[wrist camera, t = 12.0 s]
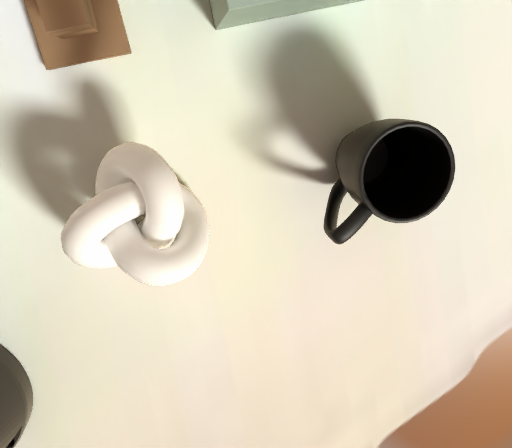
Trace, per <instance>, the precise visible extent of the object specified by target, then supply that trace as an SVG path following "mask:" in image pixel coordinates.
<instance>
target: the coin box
mask: <svg viewBox="0 0 512 448" xmlns="http://www.w3.org/2000/svg"><path fill="white" fill-rule="evenodd" d="M209 1H210V6H211V10H212V15H213V20H214V24H215V29H216V30H218V29H223V28H228V27H233V26H238V25H243V24H248V23H253V22H258V21H263V20H268V19H273V18H278V17H283V16H288V15H293V14H298V13H303V12H308V11H313V10H318V9H323V8H328V7H333V6H338V5H343V4H348V3H353V2H358V1H363V0H209Z"/></svg>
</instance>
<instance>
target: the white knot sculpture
mask: <svg viewBox="0 0 512 448" xmlns="http://www.w3.org/2000/svg"><path fill="white" fill-rule="evenodd" d="M131 180H133V181H131ZM95 195H96V196H94V197H93V198H91V199H90V200H88V201H87V202H85V203H84V204H82V205H81V206H80V207H79V208H77V209H76V210H75V211H74V212H73V214H72V215H71V216H70V218H69V219H68V221H67V222H66V224H65V225H64V228H63V230H62V233H61V242H62V248H63V251H64V253H65V254H66V255H67V256H68V257H69V258H70V259H71V260H72V261H73V262H74V263H76V264H79V265H81V266H85V267H90V268H110V267H115V266H119V267H120V268H121V269H122V270H123V271H124V272H125V273H127V274H128V275H130V276H131V277H132V278H134V279H135V280H137V281H139V282H141V283H144V284H147V285H154V286H165V285H170V284H173V283H176V282H179V281H181V280H182V279H184V278H186V277H188V276H189V275H191V274H192V273H193V272H194V271H195V270H196V269H197V268H198V266H199V265H200V264H201V262H202V261H203V258H204V256H205V253H206V251H207V248H208V243H209V237H210V225H209V221H208V216H207V214H206V211H205V209H204V207H203V205H202V204H201V202H200V200H199V199H198V198H197V197H196V195H195V194H194V193H193V192H192V191H191V190H189V189H188V188H187V187H186V186H184V185H183V184H181V183H179V182H178V179H177V177H176V175H175V173H174V172H173V170H172V168H171V167H170V166H169V164H168V163H167V162H166V161H165V160H164V159H163V157H162V156H160V155H159V154H158V153H157V152H156V151H155V150H153V149H152V148H150V147H149V146H146V145H143V144H138V143H133V142H126V143H123V144H121V145H118V146H116V147H113V148H112V149H110V150H109V151H108V152H107V153H106V155H105V157H104V158H103V160H102V161H101V163H100V165H99V168H98V171H97V175H96V182H95ZM145 213H146V217H145V219H144V220H143V221H141V222H140V223H139V224H138V225H137V223H136V220H135V218H136V217H138V216H140V215H143V214H145ZM175 235H176V238H175V240H174V242H173V243H172V244H171V246H170V247H168V248H166V249H160V248H162V247H164V246H165V245H167V244H168V243H169V242H170V241H171V240H172V239H173V238H174V237H175Z"/></svg>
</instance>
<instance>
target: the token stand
mask: <svg viewBox="0 0 512 448" xmlns="http://www.w3.org/2000/svg"><path fill="white" fill-rule="evenodd" d="M24 1H25V5H26V8H27V11H28V14H29V17H30V20H31V23H32V26H33V29H34V32H35V36H36V39H37V42H38V45H39V48H40V51H41V54H42V57H43V60H44V64H45V67H46V70H51V69H56V68H61V67H66V66H71V65H76V64H81V63H86V62H91V61H96V60H101V59H106V58H111V57H116V56H121V55H126V54H131V49H130V46H129V42H128V38H127V34H126V31H125V27H124V23H123V19H122V16H121V12H120V8H119V4H118V1H117V0H24Z"/></svg>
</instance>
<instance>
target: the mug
mask: <svg viewBox="0 0 512 448" xmlns="http://www.w3.org/2000/svg"><path fill="white" fill-rule="evenodd" d="M336 167H337V169H338V173H339V176H340V178H339V179H338V180H337V182H336V183H335V184H334V186H333V187H332V190H331V192H330V195H329V199H328V203H327V208H326V213H325V218H324V230H325V233H326V234H327V235H328V237H329V238H330V239H331V240H332V241H333V242H335V243H336V244H342V243H344V242H346V241H347V240H349V239H350V238H351V237H352V236H353V235H354V234H355V233H356V232H357V231H358V230H359V229H360V228H361V227H362V226H363V224H364V223H365V222H366V221H367V220H368V218H369V217H370V216H371V215H372V214H374V215H375V216H377V217H379V218H381V219H383V220H385V221H389V222H393V223H408V222H412V221H416V220H419V219H421V218H423V217H425V216H427V215H429V214H430V213H431V212H432V211H434V210H435V209H436V208H437V207H438V206H439V205H440V204H441V203H442V202H443V200H444V199H445V197H446V196H447V194H448V192H449V190H450V188H451V185H452V182H453V179H454V173H455V159H454V154H453V151H452V148H451V145H450V144H449V142H448V140H447V139H446V137H445V136H444V135H443V134H442V133H441V132H440V131H439V130H438V129H436V128H435V127H433V126H431V125H429V124H427V123H423V122H420V121H413V120H405V119H385V120H380V121H376V122H372V123H369V124H367V125H364V126H362V127H360V128H358V129H357V130H355V131H354V132H352V133H350V134H349V135H347V136H346V137H345V138H344V139H343V140H342V142H341V143H340V145H339V147H338V150H337V153H336ZM347 192H348V193H349V194H350V195H351V197H352V198H353V199H354V200H355V201H356V202H357V203H358V204H359V205H358V206H357V207H356V209H355V210H354V211H353V212H352V213H351V215H350V216H349V217H348V218H347V219H346V220H345V221H344V222H343V223H342V224H341V225H340V226H339V227H337V228H336V226H337V218H338V212H339V208H340V204H341V202H342V199H343V197H344V196H345V194H346V193H347Z"/></svg>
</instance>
